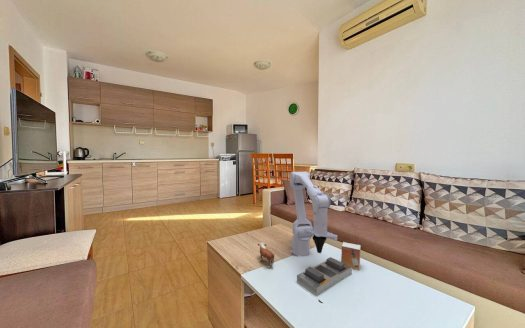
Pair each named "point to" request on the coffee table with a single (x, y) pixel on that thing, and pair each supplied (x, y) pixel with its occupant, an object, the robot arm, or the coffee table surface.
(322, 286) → the rack
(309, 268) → the dark grey block piece
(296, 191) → the robot arm
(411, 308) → the coffee table surface
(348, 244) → the small box
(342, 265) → the dark grey rectangular block
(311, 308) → the coffee table surface
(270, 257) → the bull figurine
